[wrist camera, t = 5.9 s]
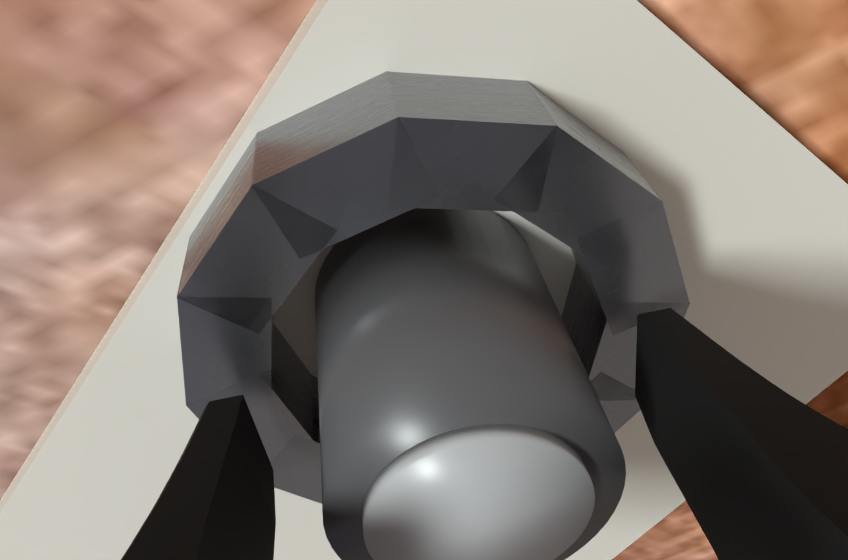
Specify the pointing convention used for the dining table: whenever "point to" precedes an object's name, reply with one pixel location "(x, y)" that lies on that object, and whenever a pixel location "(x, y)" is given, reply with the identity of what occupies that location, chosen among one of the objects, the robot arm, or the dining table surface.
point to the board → (585, 99)
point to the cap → (454, 399)
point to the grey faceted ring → (396, 194)
